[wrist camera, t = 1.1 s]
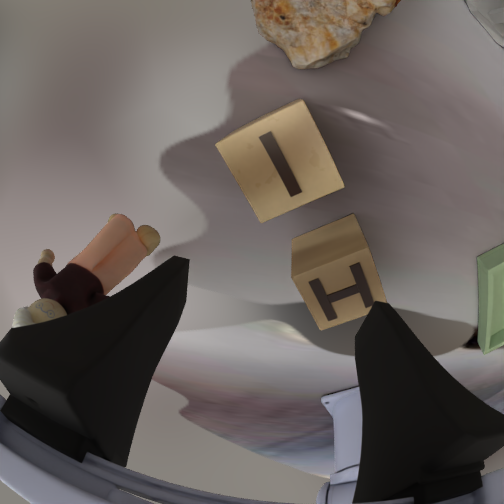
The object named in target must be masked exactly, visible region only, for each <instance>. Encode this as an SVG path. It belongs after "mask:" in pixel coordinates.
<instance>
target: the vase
mask: <svg viewBox="0 0 504 504" xmlns="http://www.w3.org/2000/svg"><path fill="white" fill-rule="evenodd" d="M465 1H466V3H467V5H468V7H469V10H470V12H471V13H472V14H473V15H474V16H475V18H476V19H477V20H478V21H479V22H480V23H481V24H482V26H483V27H484V28H485V29H486V30H487V32H488V33H489V34H490V35H491V37H492V38H493V39H494V40H495V42H496V43H498V44H499V45H501V46H502V47H504V0H465Z"/></svg>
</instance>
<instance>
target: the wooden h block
mask: <svg viewBox="0 0 504 504" xmlns="http://www.w3.org/2000/svg"><path fill="white" fill-rule="evenodd" d="M291 278H292V280H293V281H294V283H295V285H296V287H297V289H298V291H299V292H300V294H301V296H302V298H303V300H304V301H305V303H306V305H307V307H308V309H309V311H310V312H311V314H312V316H313V318H314V320H315V321H316V323H317V325H318V327H319V329H320V330H324V329H327V328H330V327H333V326H336V325H339V324H342V323H345V322H348V321H350V320H353V319H356V318H359V317H362V316H365V315H367V314H368V313H369V311H370V309H371V307H372V305H373V304H374V302H375V301H380V302H385V303H387V300H386V297H385V294H384V291H383V288H382V284H381V281H380V278H379V275H378V272H377V269H376V266H375V263H374V260H373V258H372V255H371V252H370V249H369V246H368V244H367V242H366V240H365V237H364V235H363V233H362V230H361V228H360V226H359V224H358V222H357V219H356V217H355V215H354V214H351V215H349V216H346V217H344V218H342V219H339V220H337V221H334V222H332V223H330V224H327V225H325V226H322V227H320V228H317V229H315V230H313V231H310V232H308V233H305V234H303V235H301V236H298V237H296V238H293V239H292V266H291Z"/></svg>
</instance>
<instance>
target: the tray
mask: <svg viewBox="0 0 504 504" xmlns="http://www.w3.org/2000/svg"><path fill="white" fill-rule="evenodd" d="M477 265H478V287H479V320H478V344H479V346H480V348H481V350H482V352H483V354H484V355H485V354H487V353H489V352H491V351H493V350H495V349H497V348H499V347H500V346H502V345H504V244H502V245H500V246H498V247H496V248H494V249H492V250H490V251H488V252H486V253H484V254H482V255H480V256H478V257H477Z"/></svg>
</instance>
